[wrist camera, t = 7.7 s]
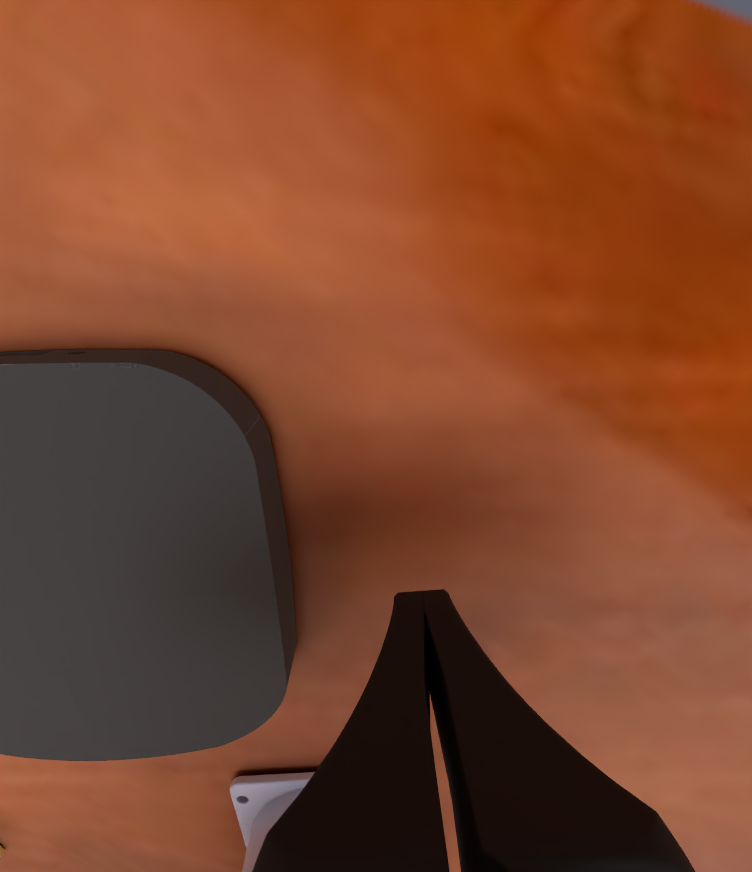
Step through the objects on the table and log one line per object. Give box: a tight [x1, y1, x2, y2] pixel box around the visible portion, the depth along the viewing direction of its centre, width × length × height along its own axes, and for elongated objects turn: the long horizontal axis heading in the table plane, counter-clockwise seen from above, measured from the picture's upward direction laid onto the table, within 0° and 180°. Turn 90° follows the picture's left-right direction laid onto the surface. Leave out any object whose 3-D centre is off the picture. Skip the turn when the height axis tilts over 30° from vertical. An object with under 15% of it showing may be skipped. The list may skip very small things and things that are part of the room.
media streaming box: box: [0, 349, 296, 761], centre depth 15 cm, size 15×15×3 cm
